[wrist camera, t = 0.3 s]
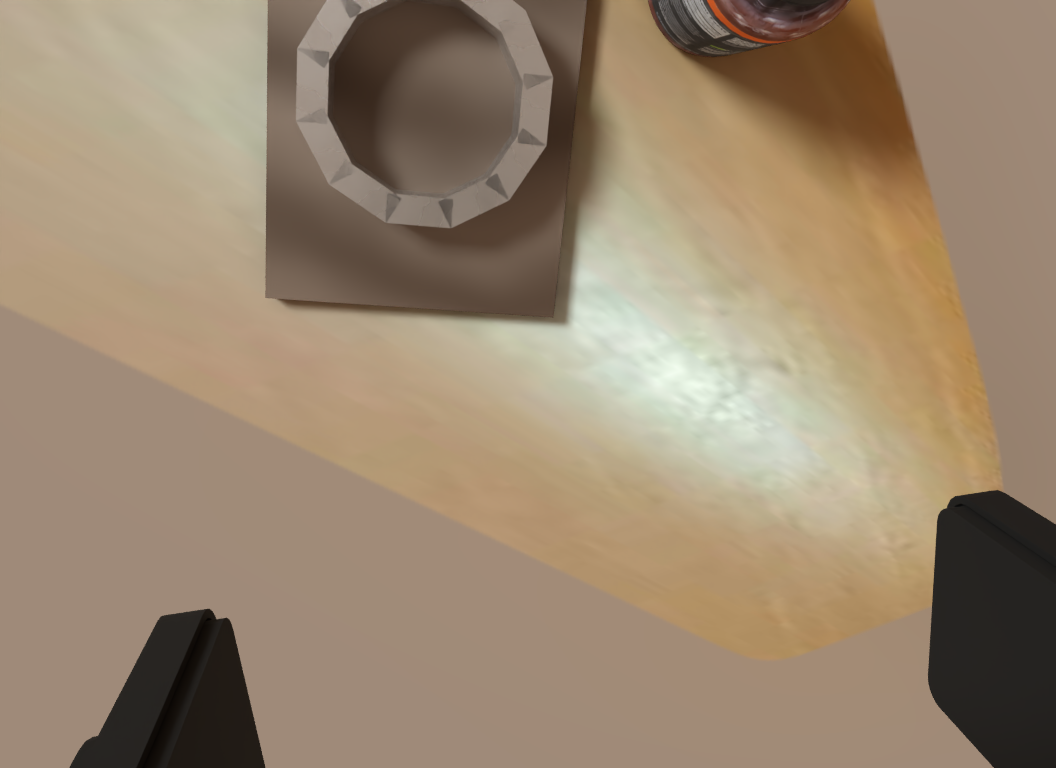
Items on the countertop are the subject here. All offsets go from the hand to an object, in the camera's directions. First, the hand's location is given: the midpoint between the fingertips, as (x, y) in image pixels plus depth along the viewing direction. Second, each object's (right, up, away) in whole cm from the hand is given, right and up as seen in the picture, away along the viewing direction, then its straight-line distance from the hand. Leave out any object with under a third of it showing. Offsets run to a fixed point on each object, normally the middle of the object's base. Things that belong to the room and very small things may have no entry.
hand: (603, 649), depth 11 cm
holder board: (-5, +16, +26) cm, 31 cm away
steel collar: (-5, +16, +26) cm, 31 cm away
